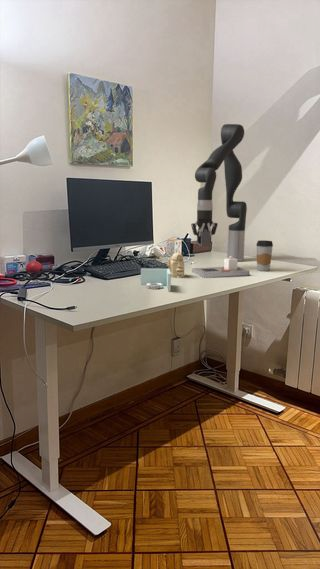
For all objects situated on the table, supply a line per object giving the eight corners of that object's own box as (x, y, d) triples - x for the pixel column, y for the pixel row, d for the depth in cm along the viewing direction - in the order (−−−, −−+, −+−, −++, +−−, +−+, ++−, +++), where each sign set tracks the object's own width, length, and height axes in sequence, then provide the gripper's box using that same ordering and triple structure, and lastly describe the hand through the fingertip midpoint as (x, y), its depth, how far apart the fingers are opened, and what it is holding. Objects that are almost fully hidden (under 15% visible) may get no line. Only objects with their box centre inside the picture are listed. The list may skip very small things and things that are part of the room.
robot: (167, 279, 210) (167, 246, 208) (163, 276, 218) (163, 244, 215) (189, 279, 213) (190, 246, 210) (184, 275, 220) (185, 244, 217)
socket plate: (191, 273, 227) (191, 266, 227) (235, 271, 235) (235, 264, 234) (203, 278, 214) (203, 271, 214) (249, 275, 222) (249, 269, 221)
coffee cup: (270, 269, 242) (272, 240, 239) (272, 271, 234) (274, 242, 231) (254, 268, 242) (255, 240, 240) (255, 271, 234) (257, 241, 231)
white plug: (224, 272, 228) (224, 255, 226) (232, 272, 229) (233, 255, 228) (228, 274, 224) (229, 257, 222) (236, 273, 225) (237, 256, 223)
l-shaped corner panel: (140, 286, 197) (140, 268, 195) (169, 286, 197) (169, 268, 196) (140, 292, 185) (140, 273, 184) (170, 292, 186) (170, 273, 184)
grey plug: (198, 244, 235) (198, 228, 233) (206, 244, 236) (206, 228, 235) (201, 245, 231) (202, 229, 229) (210, 245, 232) (210, 229, 230)
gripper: (214, 208, 235) (213, 242, 239) (188, 209, 231) (188, 243, 235) (221, 209, 228) (220, 243, 232) (194, 209, 224) (193, 245, 228)
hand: (204, 243), depth 233 cm, fingers closed on grey plug, 4 cm apart
